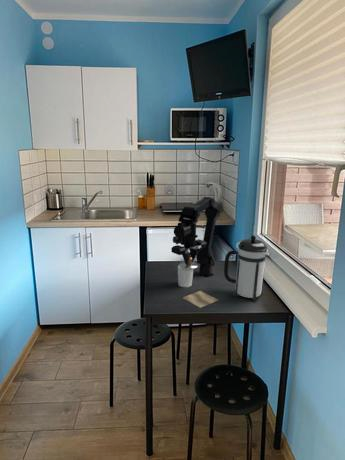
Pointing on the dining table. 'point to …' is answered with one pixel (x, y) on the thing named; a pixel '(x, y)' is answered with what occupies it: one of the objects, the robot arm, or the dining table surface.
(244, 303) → the dining table surface
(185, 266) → the lid
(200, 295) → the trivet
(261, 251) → the coffee press
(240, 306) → the dining table surface
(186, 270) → the white cup
